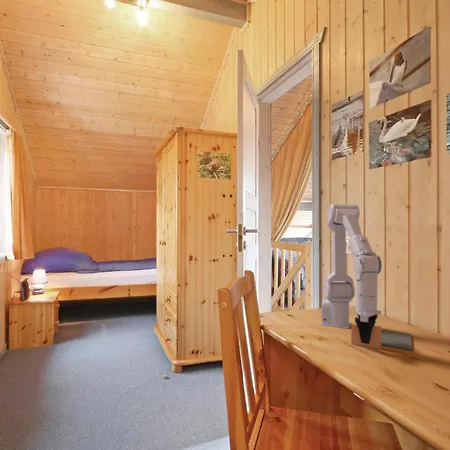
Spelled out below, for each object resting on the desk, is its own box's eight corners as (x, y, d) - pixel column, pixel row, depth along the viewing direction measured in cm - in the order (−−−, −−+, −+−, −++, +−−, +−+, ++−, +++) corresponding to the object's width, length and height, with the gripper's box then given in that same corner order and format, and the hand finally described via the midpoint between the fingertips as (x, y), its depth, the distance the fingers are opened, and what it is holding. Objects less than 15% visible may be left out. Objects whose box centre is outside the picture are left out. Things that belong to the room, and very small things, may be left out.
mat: (359, 342, 101) (359, 340, 101) (364, 328, 115) (364, 327, 115) (412, 350, 94) (412, 348, 94) (410, 335, 109) (410, 333, 109)
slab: (351, 344, 99) (351, 324, 99) (352, 342, 101) (352, 322, 101) (380, 349, 95) (380, 328, 96) (381, 346, 98) (381, 326, 98)
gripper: (380, 300, 90) (379, 350, 90) (382, 292, 103) (382, 336, 103) (352, 297, 94) (352, 345, 93) (358, 290, 106) (358, 332, 106)
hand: (366, 340), depth 98 cm, fingers open, 5 cm apart
